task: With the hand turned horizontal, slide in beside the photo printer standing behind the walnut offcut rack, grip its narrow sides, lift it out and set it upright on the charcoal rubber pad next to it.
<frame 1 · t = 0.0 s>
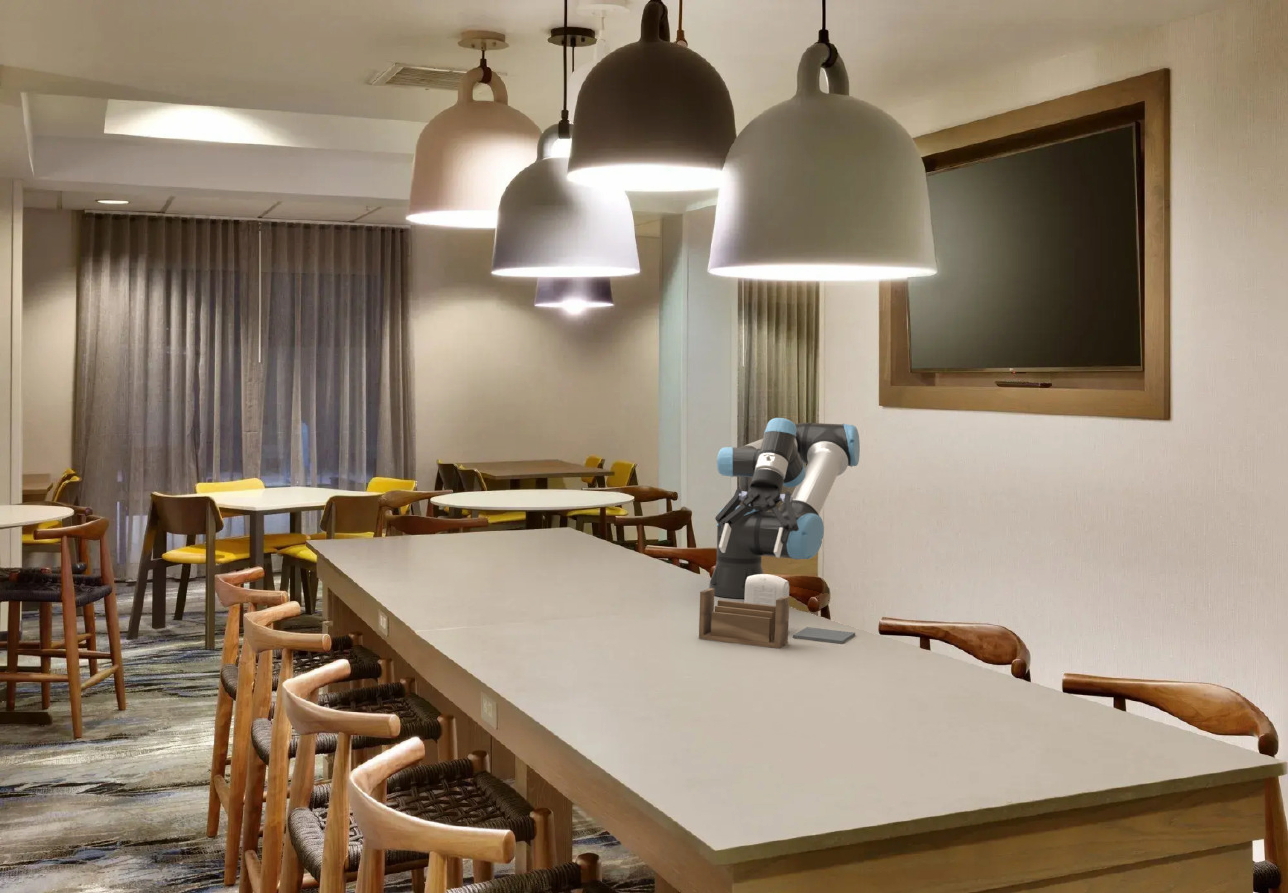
hand: (748, 552, 280), 15 cm above the table, tool tilted 35°, fingers open, 13 cm apart
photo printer: (765, 630, 267), on the table
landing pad: (824, 636, 261), on the table
offcut rack: (743, 641, 254), on the table
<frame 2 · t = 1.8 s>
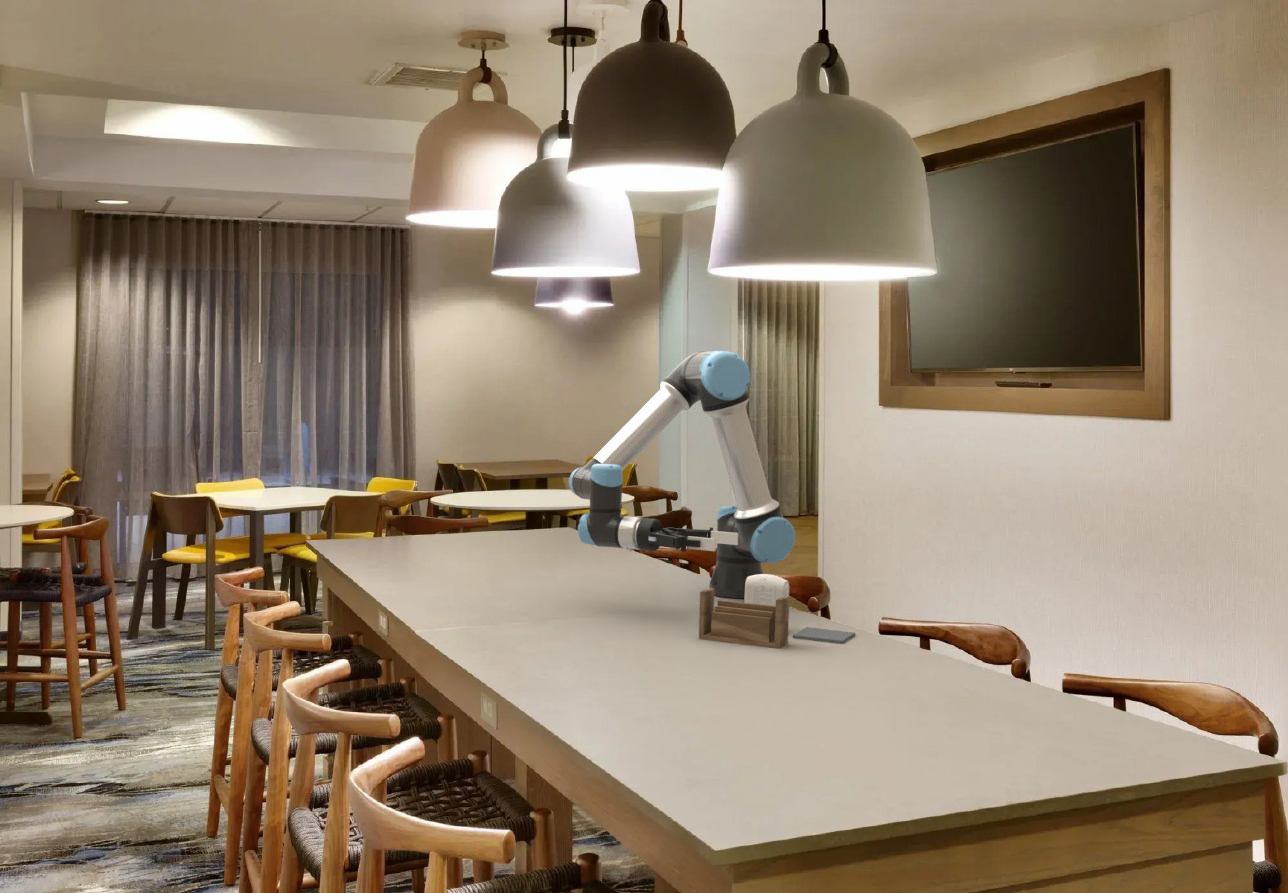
hand: (726, 542, 270), 19 cm above the table, tool horizontal, fingers open, 13 cm apart
nothing on the table moved.
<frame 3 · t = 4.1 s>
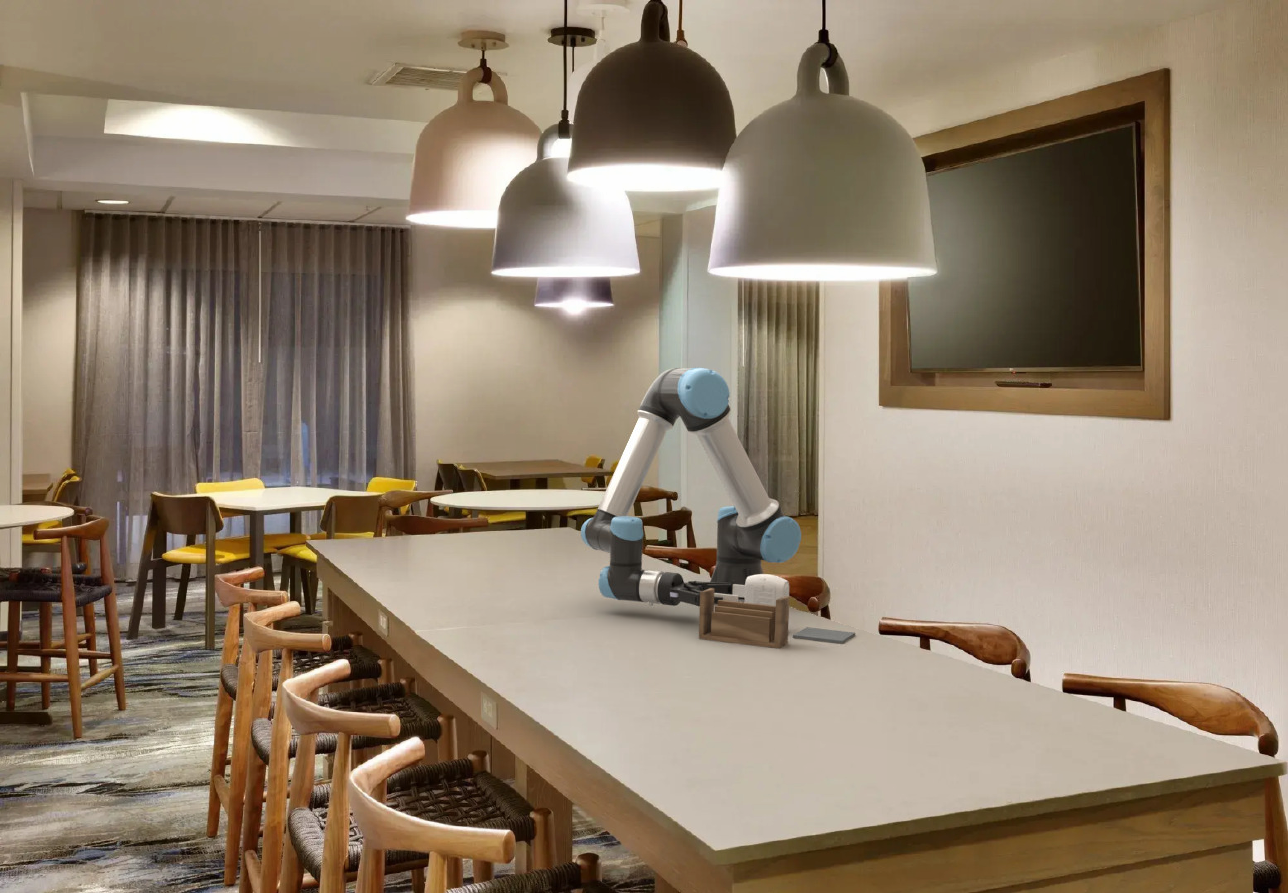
hand: (749, 597, 267), 7 cm above the table, tool horizontal, fingers open, 13 cm apart
nothing on the table moved.
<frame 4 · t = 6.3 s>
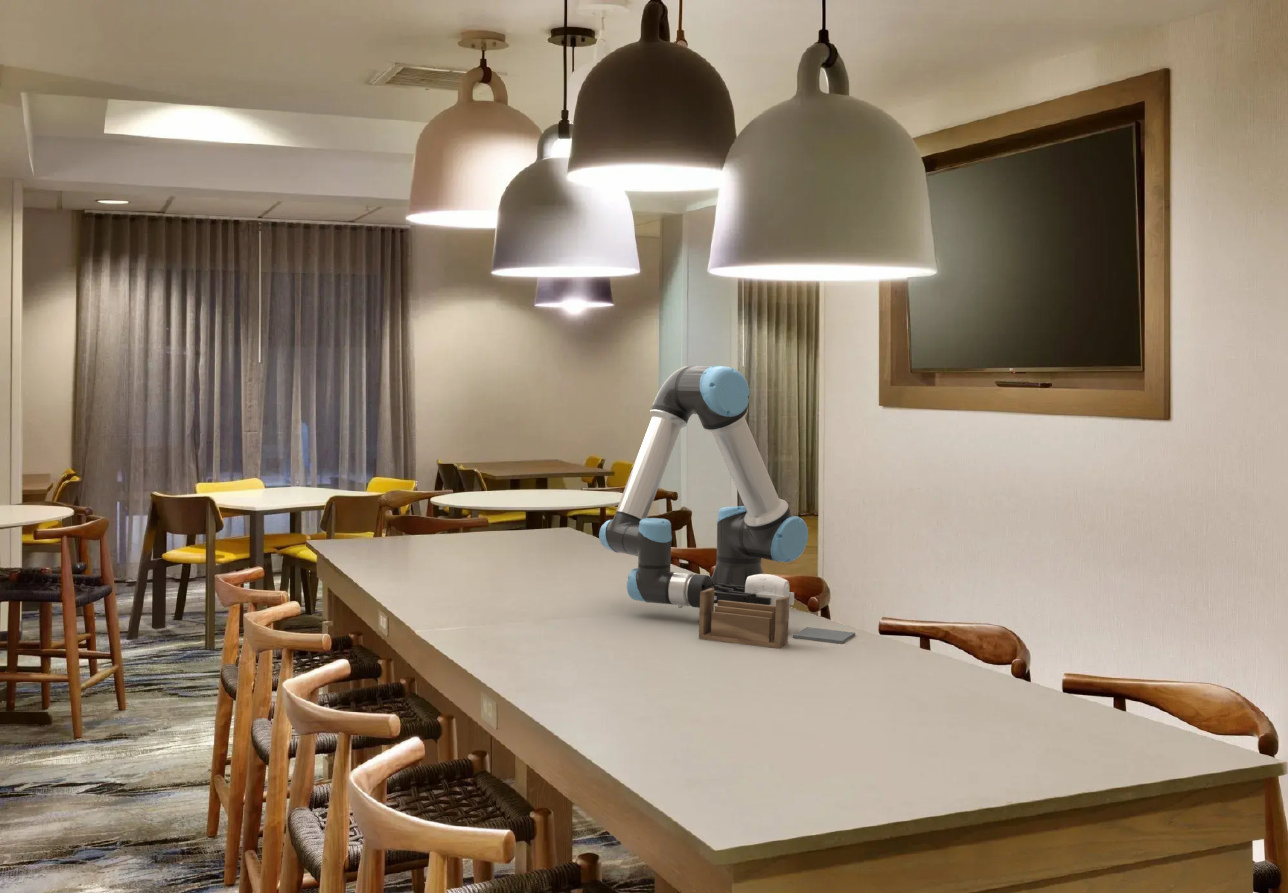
hand: (789, 600, 264), 7 cm above the table, tool horizontal, fingers closed on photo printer, 4 cm apart
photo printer: (765, 630, 267), on the table, touching gripper
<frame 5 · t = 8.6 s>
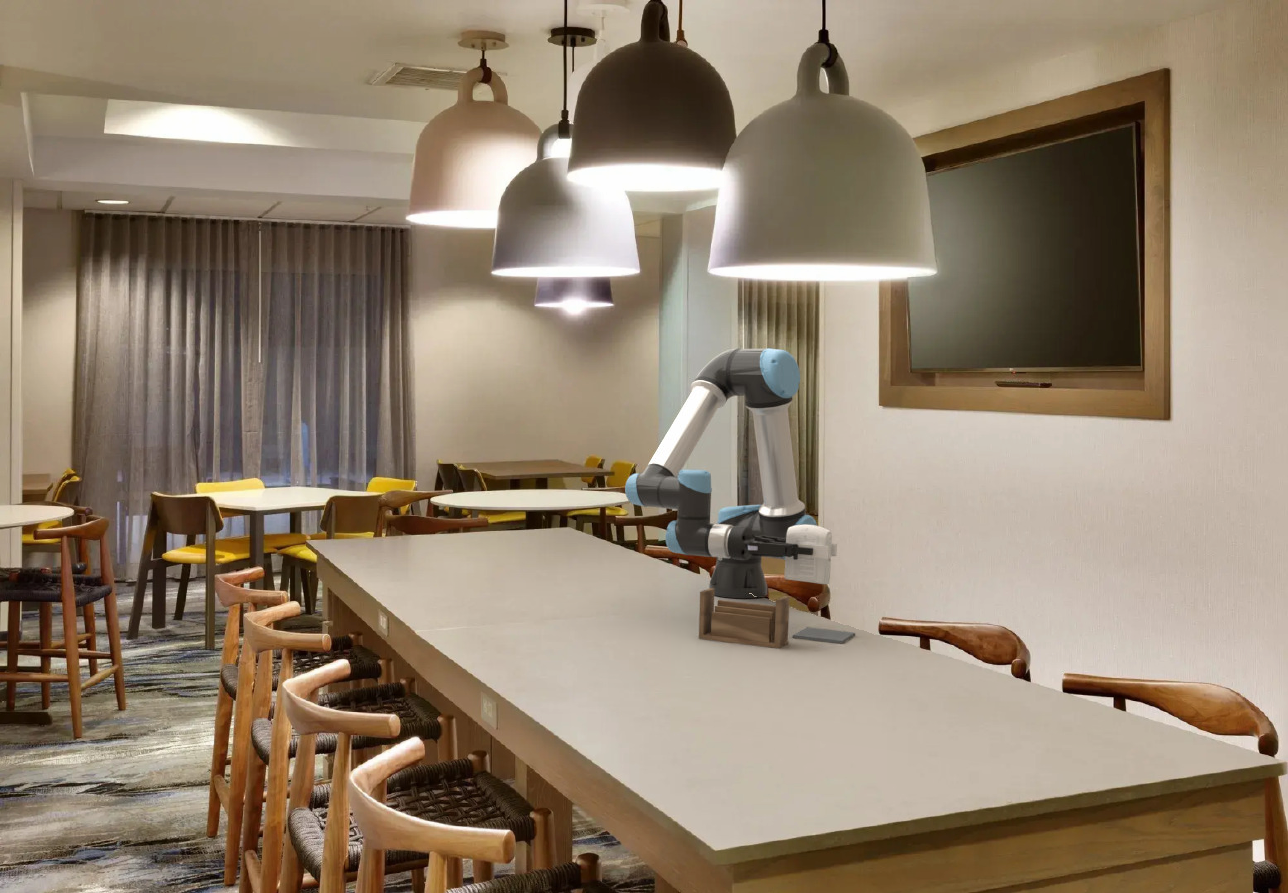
hand: (832, 551, 258), 19 cm above the table, tool horizontal, fingers closed on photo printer, 4 cm apart
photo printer: (807, 582, 261), point 12 cm above the table, touching gripper
when the fingers open (9 cm above the table, at t = 11.0 s): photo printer drops 1 cm, resting on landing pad.
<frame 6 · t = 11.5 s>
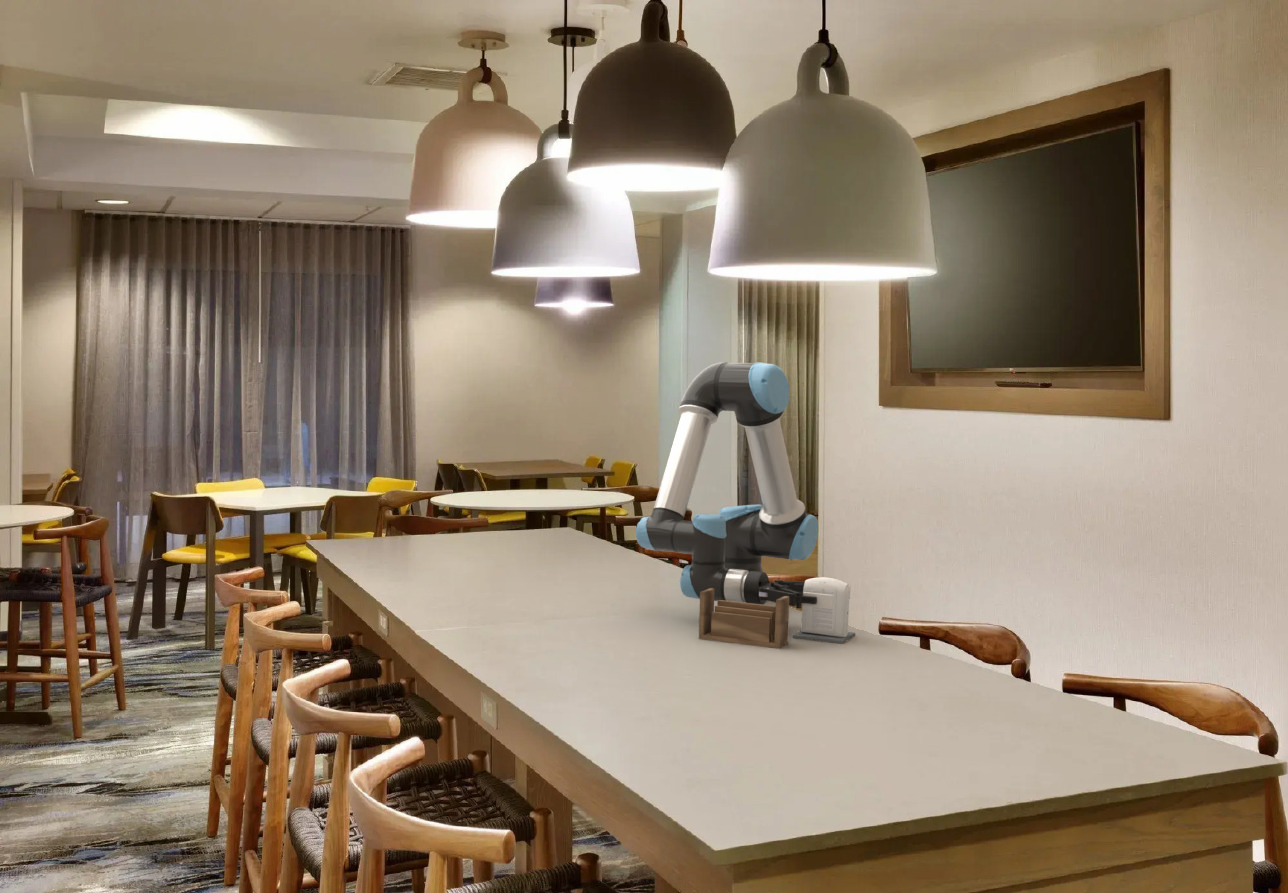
hand: (841, 597, 259), 9 cm above the table, tool horizontal, fingers open, 12 cm apart
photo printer: (824, 635, 260), resting on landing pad
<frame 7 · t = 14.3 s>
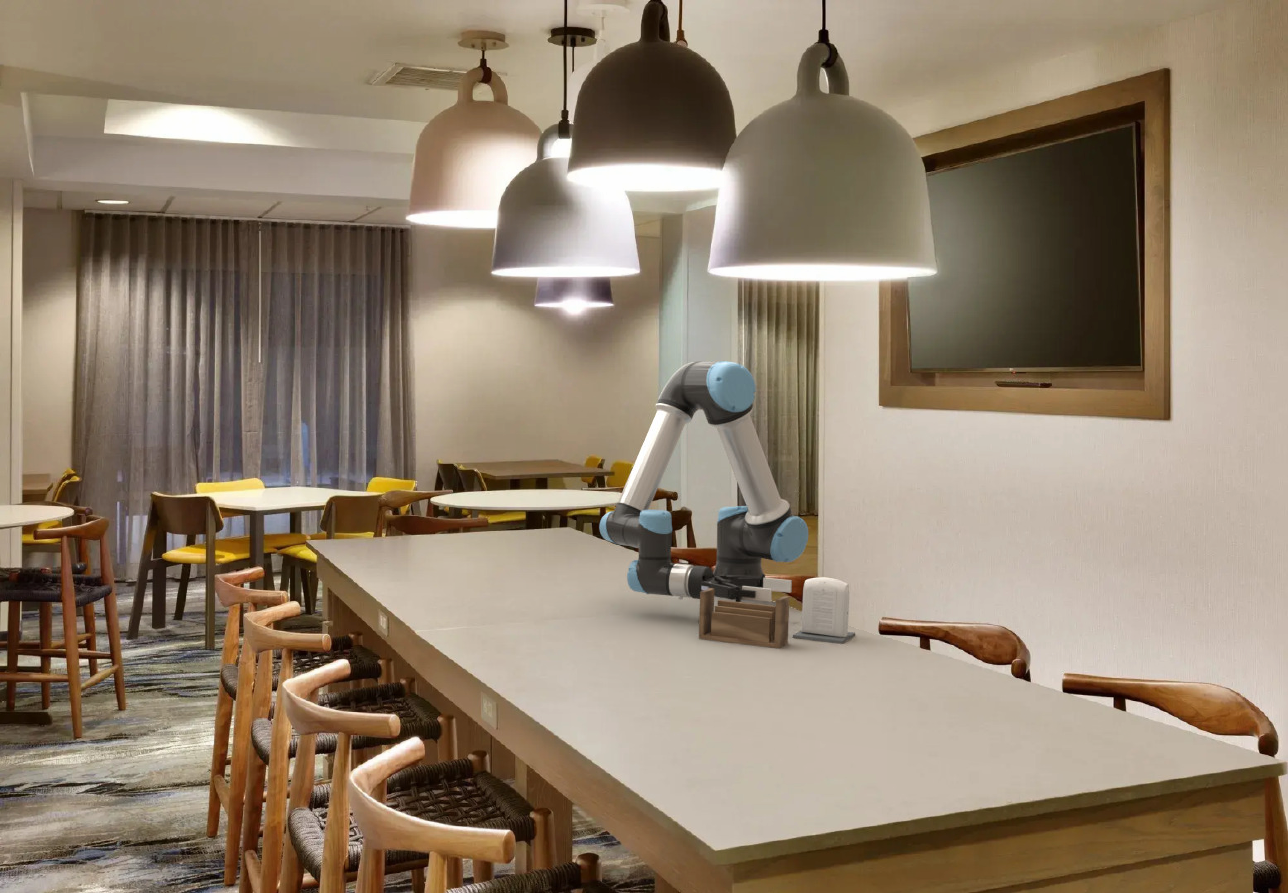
hand: (781, 590, 265), 9 cm above the table, tool horizontal, fingers open, 13 cm apart
nothing on the table moved.
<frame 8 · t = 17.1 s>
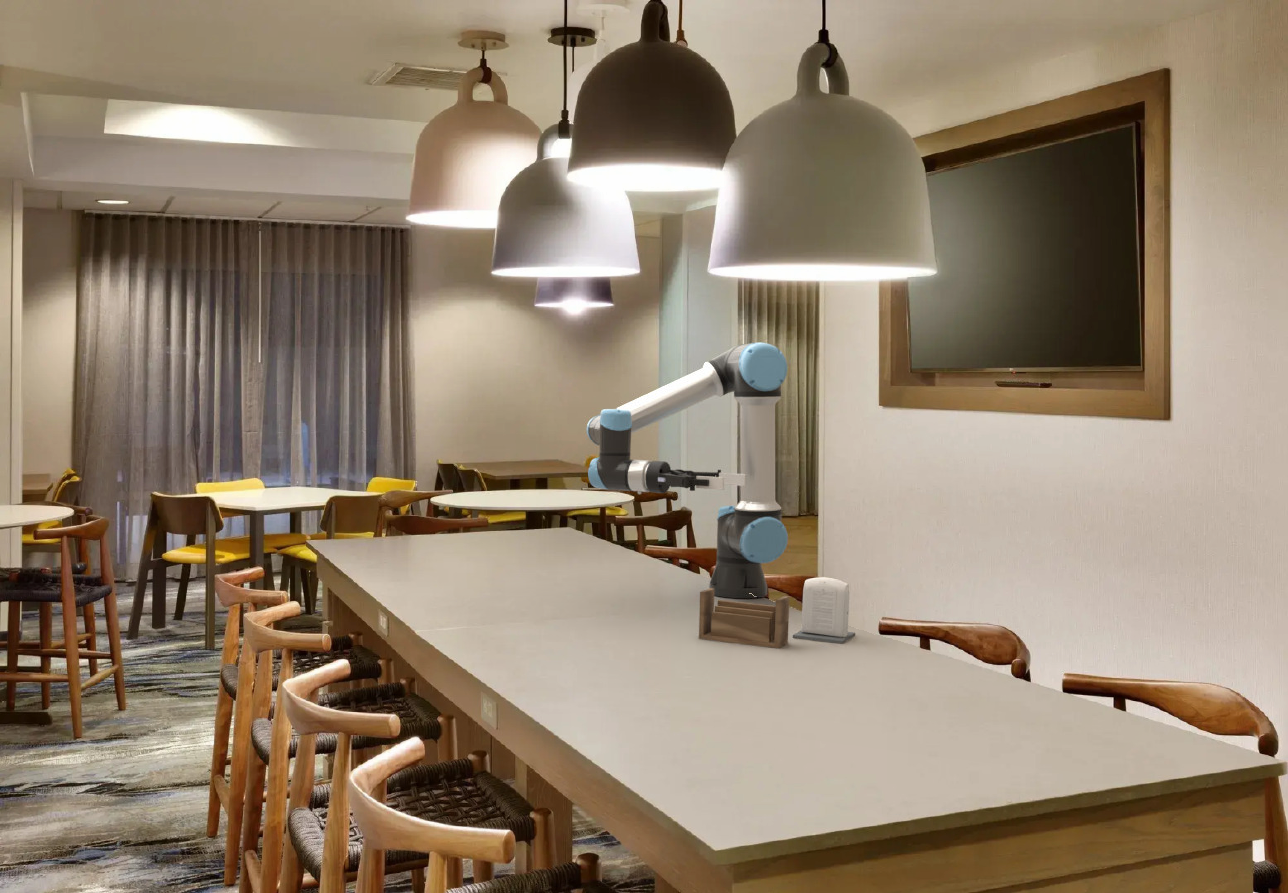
hand: (734, 481, 275), 32 cm above the table, tool horizontal, fingers open, 13 cm apart
nothing on the table moved.
at the end: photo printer inside the target area (0.5 cm from its centre), resting on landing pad; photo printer tilted 0°; the gripper is holding nothing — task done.
